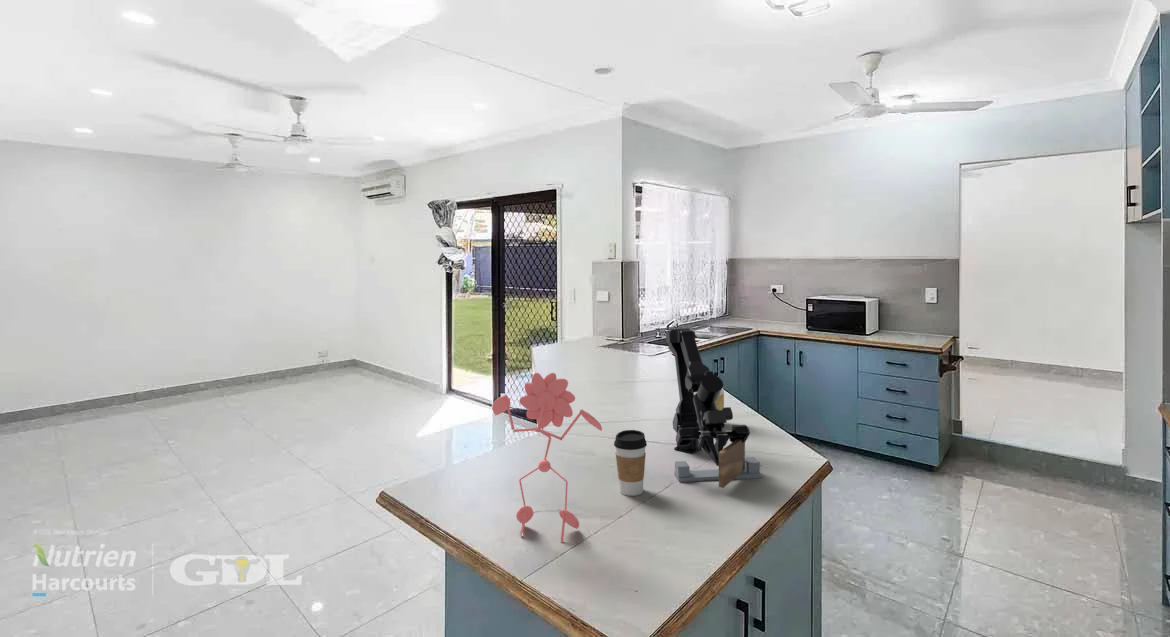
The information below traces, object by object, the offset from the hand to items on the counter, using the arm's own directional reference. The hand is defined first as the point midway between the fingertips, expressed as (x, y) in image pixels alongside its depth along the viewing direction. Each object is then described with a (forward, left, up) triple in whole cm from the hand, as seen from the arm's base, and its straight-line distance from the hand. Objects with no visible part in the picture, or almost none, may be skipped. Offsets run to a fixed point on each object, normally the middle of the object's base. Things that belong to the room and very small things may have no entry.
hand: (719, 465), depth 139 cm
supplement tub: (-30, +49, -7) cm, 58 cm away
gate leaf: (+1, +6, -5) cm, 7 cm away
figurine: (-20, -41, -6) cm, 46 cm away
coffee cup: (-17, -15, -6) cm, 24 cm away
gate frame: (-4, +8, -6) cm, 11 cm away
